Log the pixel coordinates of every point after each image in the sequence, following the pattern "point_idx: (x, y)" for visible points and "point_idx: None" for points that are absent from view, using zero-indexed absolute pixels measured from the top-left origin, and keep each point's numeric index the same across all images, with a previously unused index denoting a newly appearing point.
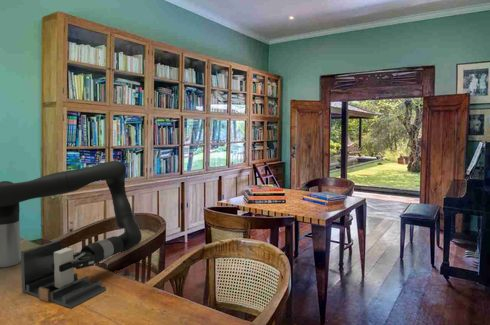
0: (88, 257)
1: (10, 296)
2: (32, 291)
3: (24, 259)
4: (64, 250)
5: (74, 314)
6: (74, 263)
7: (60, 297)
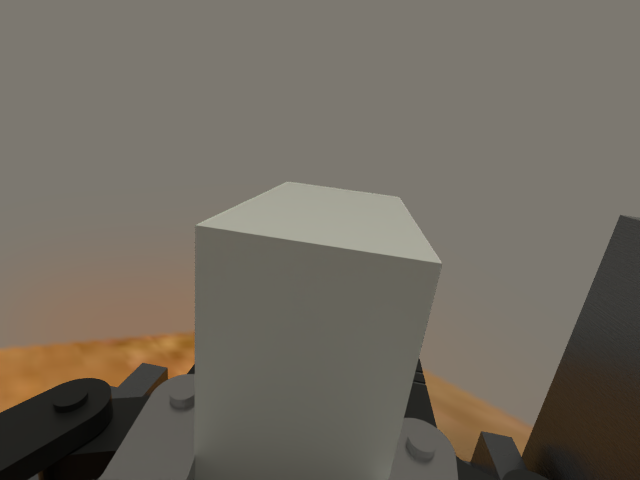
0: None
1: (523, 440)
2: None
3: (598, 278)
4: (323, 205)
5: (74, 372)
6: (132, 401)
7: None
